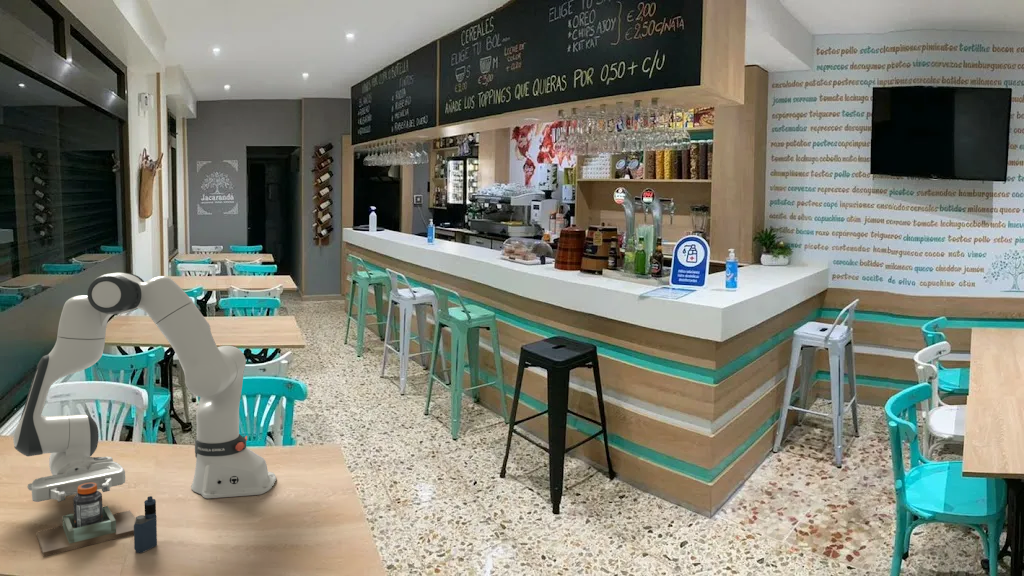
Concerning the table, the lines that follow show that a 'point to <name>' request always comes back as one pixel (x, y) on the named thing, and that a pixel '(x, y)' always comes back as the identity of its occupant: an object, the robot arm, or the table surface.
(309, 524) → the table surface
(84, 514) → the pill bottle
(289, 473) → the table surface
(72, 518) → the socket board
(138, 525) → the vaping device
